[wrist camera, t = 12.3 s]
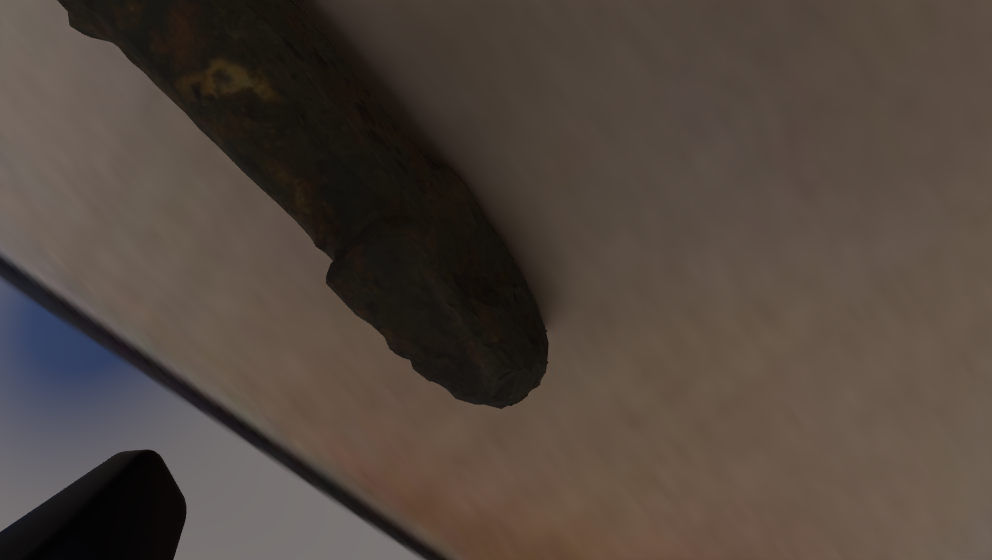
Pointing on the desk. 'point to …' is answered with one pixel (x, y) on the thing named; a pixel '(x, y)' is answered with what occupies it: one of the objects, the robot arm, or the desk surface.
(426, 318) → the hand tool
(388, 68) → the desk surface
